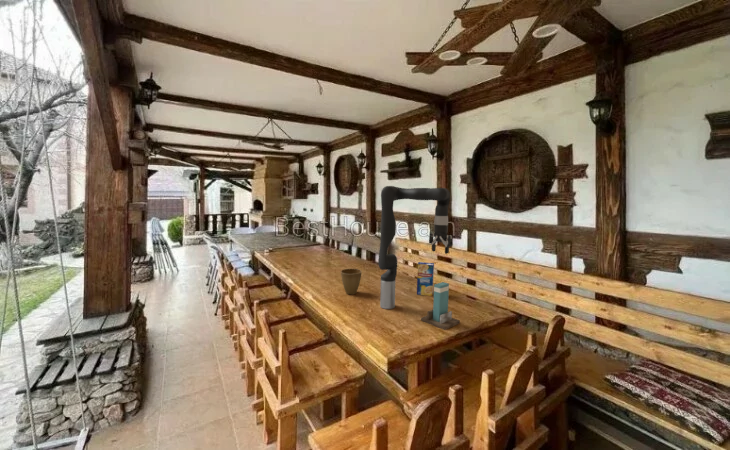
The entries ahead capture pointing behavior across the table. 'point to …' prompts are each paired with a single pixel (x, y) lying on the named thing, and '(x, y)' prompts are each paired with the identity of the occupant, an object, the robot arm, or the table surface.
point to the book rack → (441, 320)
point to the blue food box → (425, 278)
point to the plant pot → (351, 280)
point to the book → (440, 300)
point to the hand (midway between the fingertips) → (440, 252)
